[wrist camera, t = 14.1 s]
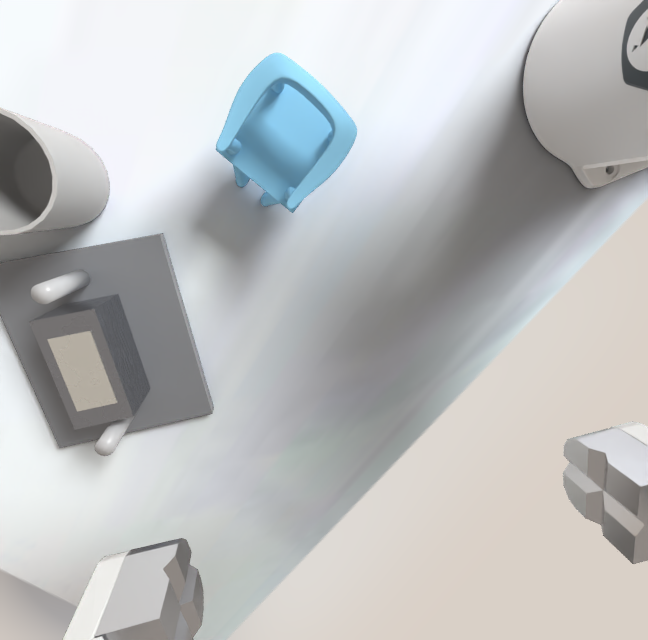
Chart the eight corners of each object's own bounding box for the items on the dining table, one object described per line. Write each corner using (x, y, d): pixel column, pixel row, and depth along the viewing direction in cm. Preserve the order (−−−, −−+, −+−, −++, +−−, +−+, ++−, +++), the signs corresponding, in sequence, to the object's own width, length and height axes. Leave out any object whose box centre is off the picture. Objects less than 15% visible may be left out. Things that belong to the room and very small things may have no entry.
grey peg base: (163, 233, 33) (137, 240, 26) (213, 407, 38) (203, 451, 32) (-11, 264, 32) (-86, 281, 25) (65, 440, 37) (21, 494, 30)
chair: (212, 164, 32) (183, 145, 21) (272, 78, 31) (277, 9, 20) (286, 224, 35) (296, 236, 23) (345, 146, 33) (387, 118, 22)
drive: (118, 293, 33) (93, 309, 28) (150, 388, 36) (133, 417, 31) (63, 304, 32) (28, 322, 28) (100, 399, 35) (74, 430, 30)
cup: (70, 245, 32) (2, 260, 24) (-43, 145, 29) (-167, 121, 21) (132, 185, 32) (84, 178, 23) (23, 76, 29) (-77, 23, 20)
